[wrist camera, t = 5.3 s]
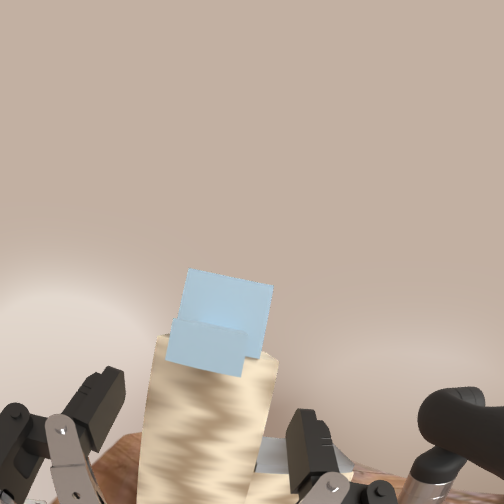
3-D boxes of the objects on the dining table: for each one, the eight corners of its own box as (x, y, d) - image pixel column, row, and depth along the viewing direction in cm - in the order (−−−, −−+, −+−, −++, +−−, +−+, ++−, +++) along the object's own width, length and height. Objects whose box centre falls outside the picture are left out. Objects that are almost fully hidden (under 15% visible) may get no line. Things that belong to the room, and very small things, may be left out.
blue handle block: (253, 350, 27) (264, 294, 29) (278, 383, 11) (301, 257, 13) (187, 336, 27) (199, 281, 29) (130, 349, 11) (159, 228, 13)
